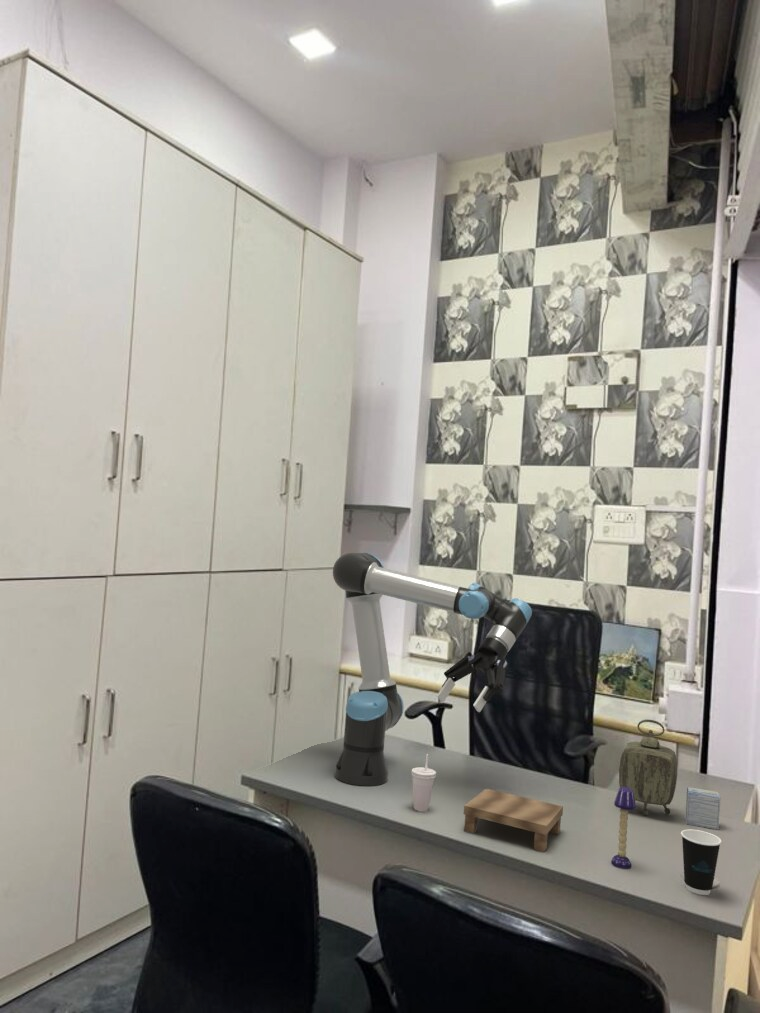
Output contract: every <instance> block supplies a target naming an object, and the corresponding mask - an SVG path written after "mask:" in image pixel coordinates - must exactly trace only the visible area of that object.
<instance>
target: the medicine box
mask: <svg viewBox="0 0 760 1013" xmlns="http://www.w3.org/2000/svg"><path fill="white" fill-rule="evenodd" d="M720 810H721V796H720V794H719V792H718V791H714V790H708V789H702V788H695V787H689V786H688V787H687V788H686V804H685V823H686V825H690V826H695V827H700V828H706V829H713V830H720V828H719V827H720Z"/></svg>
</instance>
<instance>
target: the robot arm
mask: <svg viewBox="0 0 760 1013" xmlns="http://www.w3.org/2000/svg"><path fill="white" fill-rule="evenodd" d="M332 577H333V581H334V582H335V584H336V586H338V587H339V588H340V589H341V590H344V591H345V599H346V600H347V601H348V602H350V603H351V605H352V613H353V620H354V628H355V634H356V636H355V637H356V644H357V649H358V658H359V665H360V672H361V673H360V674H361V678H362V682H361V684H359V686H358V691H356V692H353V693H352V694H350V695H349V696H348V698H347V702H346V706H345V718H344V719H345V720H344V721H345V722H344V731H343V732H344V733H343V746H342V750H341V753H340V755H339V758H338V759H337V760H338V761H337V762H336V765H335V768H334V777H335V778H336V779H337V780H338V779H339V780H338V781H340V782H342V783H345V784H348V785H354V786H366V787H367V786H368V787H369V786H370V787H371V786H379V785H383V784H385V783H386V782H387V781H388V780H389V779H388V776H389V770H388V766H387V762H386V757H385V752H384V750H385V749H384V748H385V737H386V731H388V730H390V729H393V727H395V726H396V725H397V724H398V723H399V721H400V719H401V718H402V716H403V713H404V709H405V708H404V701H403V699H402V696H401V695H400V693H399V692H398V688H397V682H396V681H395V680H394V679H392V678H391V674H390V666H389V660H388V652H387V646H386V637H385V633H384V632H385V631H384V623H383V622H384V621H383V616H382V609H381V603H380V600H381V598H382V597H383V596H387V597H391V598H393V599H394V598H395V599H397V600H398V599H399V600H401V601H406V602H411V603H415V604H419V605H422V606H426V607H430V608H435V609H438V610H442V611H446V612H449V613H454V614H458V615H461V616H464V617H465V618H467V619H472V620H478V619H481V618H485V619H486V620H488V621H489V622H491V623H493V624H494V625H493V626H492V627H491V629H490V630H489V632H488V633H487V634H486V635H485V636H486V637H484V639H483V640H482V642H481V643H480V645H479V646H478V652H477V653H476V654H472V652H471V651H468V652H467V653H466V654H465V655H464V657H462V658H461V659H459V661H457V662H456V663H455V664H453V665H452V666H450V667H449V668H448V669H447V670H446V671H444V672H443V675H444V677H445V678H446V679H445V681H444V682H443V684H442V685H441V689H440V690H439V691H438V693H437V695H436V697H437V698H438V699H439V701H440V703H444V702H445V701H446V699H447V697H448V696H449V695H450V693H451V691H452V690H453V689H454V687H455V686H456V684H455V683H456V682H457V681H459V680H462V679H463V678H465V677H466V676H469V675H470V674H472V673H473V674H474V673H477V672H478V673H483V674H486V676H487V677H486V678H487V685H484V688H483V689H482V690H481V692H480V694H479V695H478V697H477V698H476V700H475V701H474V703H473V707H474V708H475V711H476V712H478V713H481V711H482V710H483V708H484V707H485V705H486V703H487V702H489V701H490V700H491V698H492V697H493V695H494V694H495V693H497V692H499V693H502V692H503V691H504V687H505V686H504V685H505V680H506V679H505V678H506V671H507V669H508V666H509V664H508V662H507V660H506V659H505V658H506V656H507V655H508V652H509V651H510V650H511V649H512V648H513V646H514V644H515V643H516V641H517V640H518V638H519V637H520V635H521V634H522V632H523V631H524V629H525V628H526V626H527V624H528V623H529V621H530V619H531V617H532V614H533V610H532V608H531V606H530V605H529V604H528V603H527V602H526V601H525V600H522V599H519V598H512V599H511V600H509V601H508V600H505V599H504V598H501V597H500V596H498V595H497V594H495V592H492V591H491V590H489V589H487V588H486V586H484V585H483V586H482V585H481V584H479V583H477V582H472V583H471V584H470V585H469V586H468V587H462V586H459V585H455V584H450V583H446V582H441V581H438V580H434V579H430V578H425V577H421V576H417V575H413V574H409V573H405V572H402V571H398V570H393V569H390V568H389V569H388V568H385V567H384V564H383V563H382V561H381V560H380V559H379V558H378V557H377V556H375V555H374V554H371V553H368V552H347V553H344V554H343V555H340V557H338V559H336V561H335V562H334V564H333V567H332ZM495 668H497V670H496V675H495ZM495 676H496V677H495Z"/></svg>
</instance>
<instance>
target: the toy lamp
mask: <svg viewBox="0 0 760 1013" xmlns="http://www.w3.org/2000/svg"><path fill="white" fill-rule="evenodd" d="M636 804H637V803H636V800H635V798H634V793H633V790H632V789H631V788H628V787H620V786H619V788H618V790H617V793H616V797H615V799H614V803H613V805H614V806H615V807H616V808H618V809H620V814H619V824H618V826H619V828H618V833H619V835H618V844H617V846H618V850H617V854H616V855H614V856H613V857H612V858H611V861H610V862H611V865H612V864H613V865H612V866H614V867H616V868H620V869H629V868H632V863H631V860H630V859H629V858H628V857H627V850H626V849H627V841H628V838H627V835H628V829H627V828H628V826H629V824H628V820H629V815H628V814H629V811H633V810H636V809H637V808H636V807H637V805H636Z"/></svg>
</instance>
